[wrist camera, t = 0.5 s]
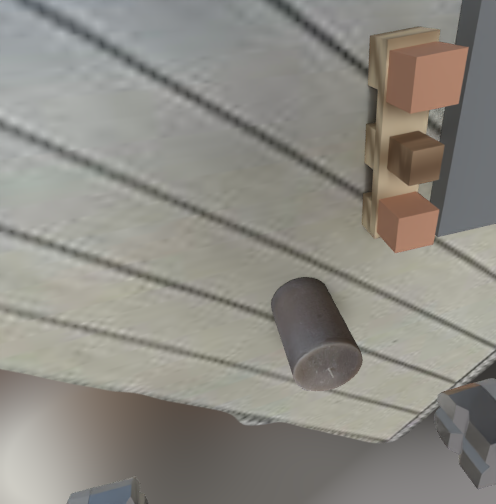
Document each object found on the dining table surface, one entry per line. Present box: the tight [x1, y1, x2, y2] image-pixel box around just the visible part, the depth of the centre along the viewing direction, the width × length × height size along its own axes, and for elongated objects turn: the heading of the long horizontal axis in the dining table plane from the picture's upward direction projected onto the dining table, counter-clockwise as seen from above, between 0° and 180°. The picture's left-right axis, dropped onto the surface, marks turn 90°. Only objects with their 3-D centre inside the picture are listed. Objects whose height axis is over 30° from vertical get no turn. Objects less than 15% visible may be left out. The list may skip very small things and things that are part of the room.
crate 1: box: [386, 41, 469, 114], centre depth 37 cm, size 5×5×5 cm
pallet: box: [362, 27, 445, 239], centre depth 44 cm, size 24×6×9 cm, turn 8°
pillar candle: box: [271, 277, 362, 391], centre depth 55 cm, size 10×10×15 cm
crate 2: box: [377, 191, 439, 253], centre depth 47 cm, size 5×5×5 cm
